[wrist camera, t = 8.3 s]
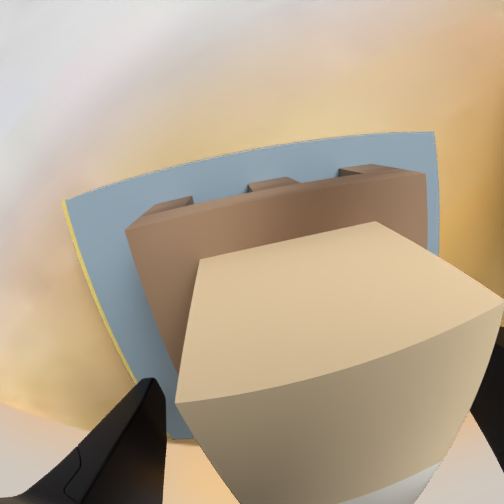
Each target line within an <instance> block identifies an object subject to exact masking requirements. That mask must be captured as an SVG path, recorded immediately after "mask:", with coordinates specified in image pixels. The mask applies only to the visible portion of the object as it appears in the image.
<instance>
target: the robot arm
mask: <svg viewBox="0 0 504 504" xmlns="http://www.w3.org/2000/svg"><path fill="white" fill-rule="evenodd" d="M470 412H471V414H472V415H473V417H474V418H475V420H476V422H477V424H478V425H479V427H480V429H481V431H482V432H483V434H484V436H485V438H486V440H487V441H488V443H489V445H490V447H491V448H492V451H493V452H494V454H495V456H496V458H498V459H497V460H498V462H499V464H500V466H501V468H502V470H503V472H504V327H501V326H500V327H499V331H498V335H497V338H496V341H495V345H494V348H493V351H492V354H491V357H490V360H489V363H488V366H487V368H486V371H485V374H484V377H483V379H482V382H481V384H480V387H479V389H478V392H477V394H476V396H475V399H474V401H473V403H472V406H471V408H470ZM166 445H167V428H166V398H165V395H164V393H163V391H162V389H161V387H160V385H159V383H158V381H157V380H156V379H155V378H154V377H149V378H143V379H141V380H140V381H139V382H138V383H137V384H136V385H135V386H134V387H133V388H132V390H131V391H130V392H129V393H128V394H127V395H126V396H125V397H124V398H123V399H122V400H121V401H120V402H119V403H118V404H117V405H116V406H115V407H114V408H113V409H112V410H111V411H110V412H109V413H108V414H107V416H106V417H105V418H104V419H103V420H102V421H101V422H100V423H99V424H98V425H97V426H96V427H95V428H94V429H93V430H92V431H91V432H90V433H89V434H88V435H87V437H85V438H84V440H82V441H81V443H79V444H78V447H76V448H75V449H73V451H72V452H71V453H70V454H69V455H68V456H67V457H65V459H63V460H62V461H61V462H60V463H59V464H58V465H57V466H56V467H55V468H53V469H52V470H51V471H50V472H49V473H48V474H46V475H45V476H44V477H43V478H42V479H40V480H39V481H38V482H37V483H36V484H34V485H33V486H32V487H31V488H29V489H28V490H27V491H25V492H24V493H22V494H20V495H17V496H14V497H6V498H0V504H162V500H163V484H164V469H165V457H166Z"/></svg>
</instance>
